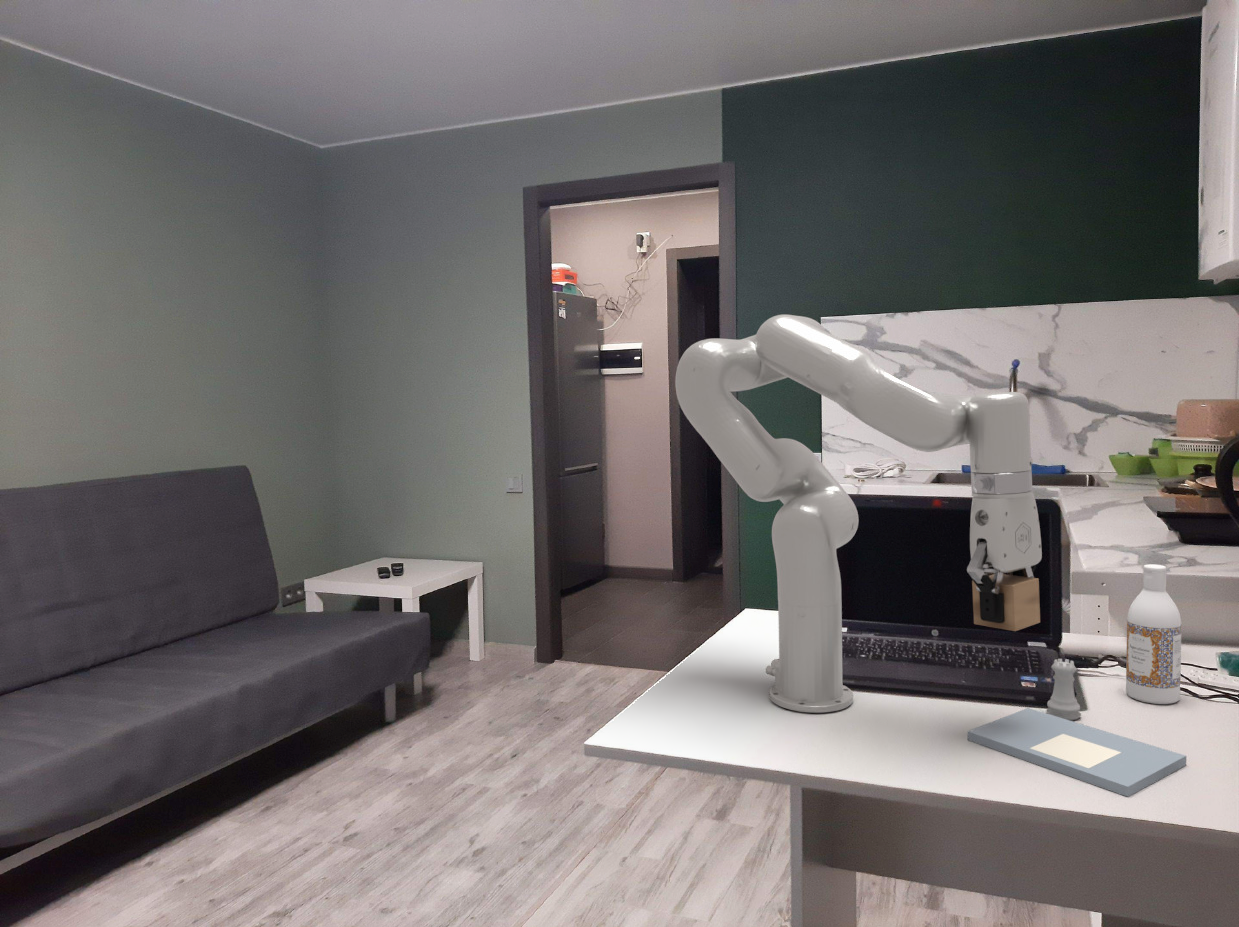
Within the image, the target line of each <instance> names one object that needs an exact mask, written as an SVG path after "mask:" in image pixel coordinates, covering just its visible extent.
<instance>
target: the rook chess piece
mask: <svg viewBox="0 0 1239 927" xmlns="http://www.w3.org/2000/svg"><path fill="white" fill-rule="evenodd" d="M1053 662H1054V663H1053V664H1052V665H1051V669H1052V670H1053V672H1054V675H1053V676H1052V679H1053V680H1054V685H1053V691H1052V694H1051V696H1050V698H1049V700H1048V701H1047V703H1046V705H1047V707H1048V708H1046V714H1050V715H1053V716H1056V717H1060V718H1063V719H1066V720H1070V721H1073V722H1074V721H1077V720H1078V719H1079V718H1080V717H1081V716H1082V715H1081V712H1080V710H1081V705H1080V704H1079V702H1078V699H1077V698H1076V695H1075V689H1074V681H1075V680H1076V679H1075V677H1074V674H1075V673H1076V671H1077V670H1078V668H1077V667H1076V666H1075V662H1074V660H1070V659H1067V658H1065V659H1064V661H1063V659H1062V658H1058V659H1054V660H1053Z"/></svg>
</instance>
